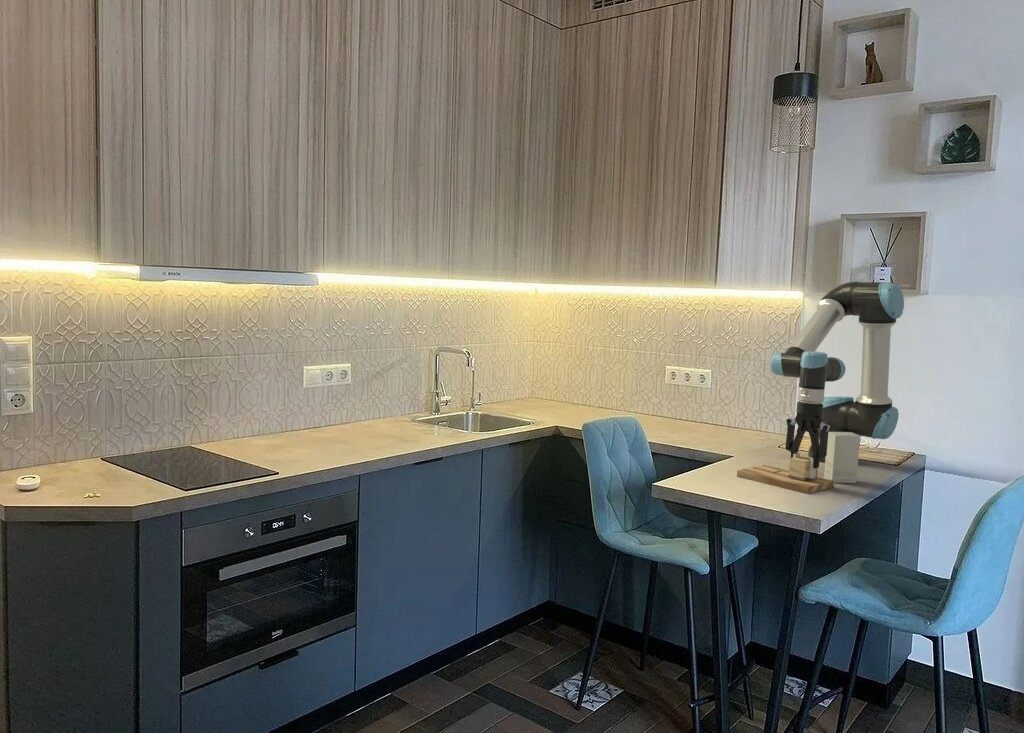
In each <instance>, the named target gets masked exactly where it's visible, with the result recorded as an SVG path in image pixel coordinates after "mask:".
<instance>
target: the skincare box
mask: <svg viewBox="0 0 1024 733" xmlns="http://www.w3.org/2000/svg"><path fill="white" fill-rule="evenodd" d="M861 437H862V436H859V435H857V434H855V433H852V432H828V445H827V455H826V458H825V462H824V474H823V478H824V479H829V480H833V481H834V484H836V483H837V484H856V483H857V477H858V465H859V455H860V443H861Z"/></svg>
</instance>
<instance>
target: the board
mask: <svg viewBox="0 0 1024 733" xmlns="http://www.w3.org/2000/svg"><path fill="white" fill-rule="evenodd" d="M736 477H738V478H742V479H746V480H750V481H754V482H757V483H758V482H759V483H762V484H767V485H771V486H775V487H779V488H782V489H785V490H790V491H794V492H797V493H798V492H799V493H803V494H805V495H806V494H807V495H808V494H812V493H815V492H820V491H824V490H828V489H831V488H834V487H835V483H834V481H833V480H829V479H824V477H820V476H817V478H814V479H810V480H805V481H802V480H798V479H794V478H790V477H789V469H785V468H780V467H775V466H772V465H771V466H770V465H766V464H762V465H757V466H753V467H752V466H751V467H746V468H742V469H738V470H736Z"/></svg>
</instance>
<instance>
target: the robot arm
mask: <svg viewBox="0 0 1024 733" xmlns="http://www.w3.org/2000/svg"><path fill="white" fill-rule="evenodd" d="M816 307H817V308H816V311H815V312H814V313H813V315H812V316H811V317H810V319H809V320H808V322H806V324H805V325H804V326H803V328H802V330H801V331H800V332H799V333H798V335H797V336H796V337H795V339H794V340H793V341H792V342H791V344H790V345H789V347H788V348H787V349H786V351H784V352H776V353H774V354H773V355H772V357H771V359H770V363H769V364H770V371H771V372H772V373H773V375H776V376H782V377H789V378H796V379H799V382H798V391H797V400H798V401H797V403H796V410H795V411H796V415H795V417H794V418H787V419H786V420H785V421H786V425H787V430H786V438H785V447H784V448H785V450H786V451H789V453H790V458H794V457H800V456H801V453H799V452H800V451H799V448H800V447H801V444H802V441H803V438H804V436H805V433H806V432H807V433H808V435H809V438H810V442H811V444H810V447H809V449H808V454H807V457H811V458H810V469H809V479H813V478H815V477H816V468H818V469H819V467H820V462H822V463H825V458H826V455H827V445H828V432H852V433H855V434H857V435H859V436H861V437H866V438H872V439H873V440H874V439H876V440H877V439H879V440H887V439H889V438H890V437H891V436H892V435H893V433H894V431H895V430H896V427H897V424H898V421H899V409H898V408H897V407H895V406H893V399H892V398H890V396H889V394H888V393H889V379H890V378H889V375H890V374H889V372H890V357H891V356H890V354H891V353H890V352H891V337H892V336H891V335H892V334H891V332H892V331H891V330H892V327H893V326H894V325H895V324H896V323H897V319H899V318H901V317H902V315H903V314H904V309H905V298H904V294H903V291H902V290H901V287H900V286H899V285H898V284H896V283H892V282H891V283H890V282H883V281H882V282H881V281H878V282H876V281H869V282H868V281H850V282H845V283H842V284H840V285H837V286H836V287H835V288H832V290H830V291H829V292H827V293H826V294H824V296H823V297H822V298H821V299H820V301H819V302H818V303H817V305H816ZM847 316H855V317H856V316H858V323H859V324H860V325H861V326H862V328H863V329H862V348H861V374H860V375H861V376H860V379H861V380H860V394H859V395H858V396H857V397H855V399H854V397H852V396H825V387H826V382H831V383H832V382H835V381H838V380H840V379H842V378H843V377H844V376H845V373H846V364H845V363H844V361H843V360H842V359H840V358H837V357H834V356H828V354H827V353H826V352H823V351H817V349H818V348H819V346H820V345H821V344H822V343H823V341H824V340H825V338H827V335H828V334H829V333H830V331H831V330H832V329H833V327H834V326H835V325H836V323H839V322H841V321H842V320H843V318H845V317H847ZM796 424H797V428H796ZM795 431H796V432H795ZM795 433H796V434H795Z"/></svg>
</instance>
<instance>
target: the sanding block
mask: <svg viewBox="0 0 1024 733" xmlns="http://www.w3.org/2000/svg"><path fill="white" fill-rule="evenodd" d="M810 458H811V457H808V455H800V457H794V458H791V457H790V459H789V468H788V470H789V477H790V478H794V479H798V480H802V481H805V480H810V479H809V469H810ZM818 471H819V468H816V477H815V478H817V477H818V473H819V472H818ZM813 479H814V478H813Z"/></svg>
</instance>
